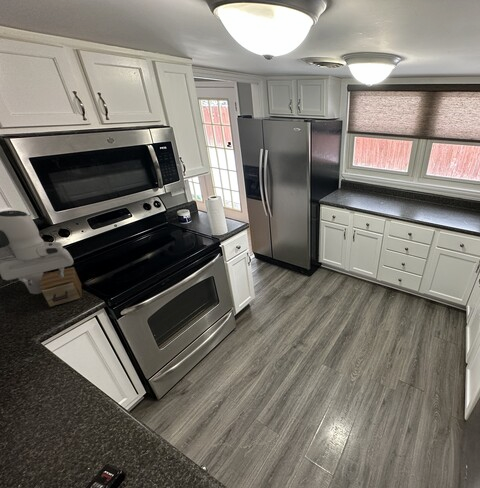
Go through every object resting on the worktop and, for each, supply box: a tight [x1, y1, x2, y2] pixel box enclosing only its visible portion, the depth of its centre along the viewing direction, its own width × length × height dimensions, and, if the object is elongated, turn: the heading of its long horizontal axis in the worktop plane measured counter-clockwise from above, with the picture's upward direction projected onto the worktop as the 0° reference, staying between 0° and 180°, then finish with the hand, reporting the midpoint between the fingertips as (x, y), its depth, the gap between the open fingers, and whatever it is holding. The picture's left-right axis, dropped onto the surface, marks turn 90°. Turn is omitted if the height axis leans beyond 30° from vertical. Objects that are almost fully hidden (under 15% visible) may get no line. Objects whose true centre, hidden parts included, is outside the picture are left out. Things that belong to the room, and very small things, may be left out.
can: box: [24, 272, 44, 295], centre depth 134 cm, size 8×8×12 cm
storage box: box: [40, 266, 83, 307], centre depth 132 cm, size 15×12×11 cm
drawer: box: [42, 282, 80, 308], centre depth 128 cm, size 19×11×9 cm, turn 40°
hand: (46, 280), depth 109 cm, fingers open, 8 cm apart
